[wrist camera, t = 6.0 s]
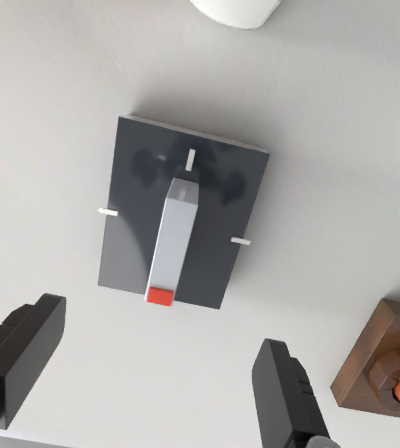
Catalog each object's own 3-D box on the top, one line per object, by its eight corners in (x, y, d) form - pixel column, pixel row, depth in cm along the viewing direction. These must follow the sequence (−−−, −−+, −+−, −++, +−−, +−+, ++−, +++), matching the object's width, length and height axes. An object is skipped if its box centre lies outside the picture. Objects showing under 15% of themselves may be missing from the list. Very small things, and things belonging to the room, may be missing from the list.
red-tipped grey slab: (173, 177, 20) (165, 198, 16) (199, 183, 20) (198, 206, 16) (154, 264, 23) (143, 303, 18) (177, 269, 23) (171, 309, 18)
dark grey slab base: (121, 112, 21) (108, 114, 18) (269, 149, 22) (279, 156, 19) (101, 264, 26) (89, 285, 23) (223, 289, 27) (226, 312, 24)
